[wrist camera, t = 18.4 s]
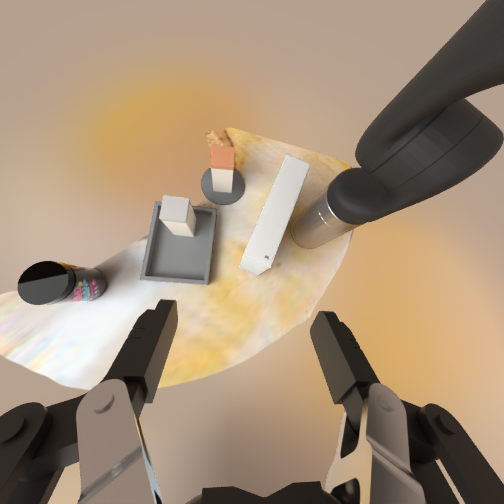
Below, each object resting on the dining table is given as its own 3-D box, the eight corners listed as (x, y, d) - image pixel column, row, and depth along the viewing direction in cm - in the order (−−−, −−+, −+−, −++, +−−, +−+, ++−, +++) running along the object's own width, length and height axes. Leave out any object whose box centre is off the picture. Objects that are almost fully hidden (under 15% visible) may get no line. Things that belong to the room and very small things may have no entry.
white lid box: (176, 216, 44) (163, 195, 34) (196, 218, 44) (189, 198, 35) (173, 235, 43) (159, 218, 33) (194, 237, 43) (185, 221, 34)
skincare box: (267, 195, 49) (287, 151, 34) (286, 204, 49) (314, 164, 34) (236, 268, 44) (242, 255, 28) (257, 277, 44) (274, 269, 29)
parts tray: (159, 206, 44) (155, 201, 42) (216, 213, 46) (216, 208, 43) (144, 280, 40) (139, 279, 38) (208, 284, 42) (207, 284, 40)
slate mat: (244, 167, 50) (244, 166, 49) (244, 205, 47) (244, 204, 47) (201, 164, 48) (201, 163, 48) (200, 203, 46) (200, 202, 45)
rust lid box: (214, 175, 47) (211, 145, 38) (232, 176, 48) (234, 147, 38) (213, 191, 46) (210, 164, 37) (231, 193, 47) (233, 167, 37)
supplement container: (71, 303, 37) (14, 308, 27) (72, 270, 39) (19, 263, 29) (108, 299, 39) (67, 301, 28) (108, 267, 40) (69, 258, 30)
